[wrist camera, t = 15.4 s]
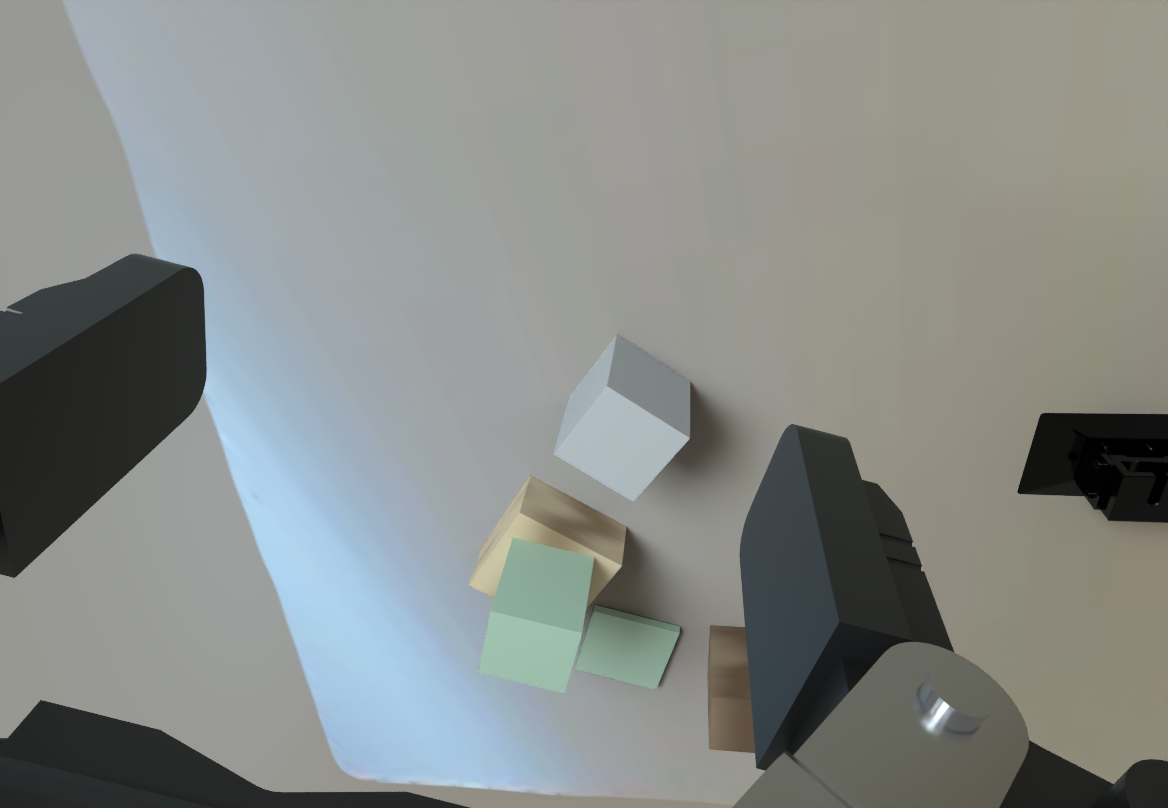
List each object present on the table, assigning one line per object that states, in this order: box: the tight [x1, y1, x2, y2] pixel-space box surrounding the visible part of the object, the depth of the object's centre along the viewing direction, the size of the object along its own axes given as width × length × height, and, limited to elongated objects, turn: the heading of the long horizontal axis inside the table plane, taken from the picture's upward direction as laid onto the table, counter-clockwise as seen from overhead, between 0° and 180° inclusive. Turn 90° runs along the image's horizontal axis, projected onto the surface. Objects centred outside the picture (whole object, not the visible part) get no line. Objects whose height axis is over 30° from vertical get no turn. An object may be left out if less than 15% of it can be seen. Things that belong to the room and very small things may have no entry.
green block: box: [478, 538, 594, 693], centre depth 45 cm, size 5×5×6 cm
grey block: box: [554, 334, 690, 501], centre depth 42 cm, size 5×5×6 cm
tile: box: [575, 605, 680, 689], centre depth 55 cm, size 6×6×1 cm
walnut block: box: [708, 625, 755, 753], centre depth 52 cm, size 5×5×6 cm
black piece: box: [1018, 413, 1168, 523], centre depth 42 cm, size 12×7×5 cm, turn 93°
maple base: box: [469, 476, 626, 608], centre depth 49 cm, size 7×7×4 cm
